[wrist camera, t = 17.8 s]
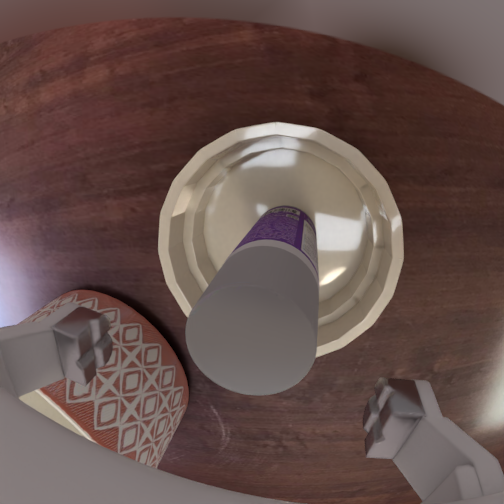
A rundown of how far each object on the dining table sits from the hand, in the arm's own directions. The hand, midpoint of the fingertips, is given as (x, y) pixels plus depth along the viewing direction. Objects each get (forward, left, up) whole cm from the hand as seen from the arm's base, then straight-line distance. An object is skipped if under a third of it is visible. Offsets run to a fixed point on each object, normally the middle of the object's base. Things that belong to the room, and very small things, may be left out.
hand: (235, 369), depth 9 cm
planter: (+18, -16, -18) cm, 30 cm away
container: (0, 0, -17) cm, 17 cm away
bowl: (0, 0, -17) cm, 17 cm away
